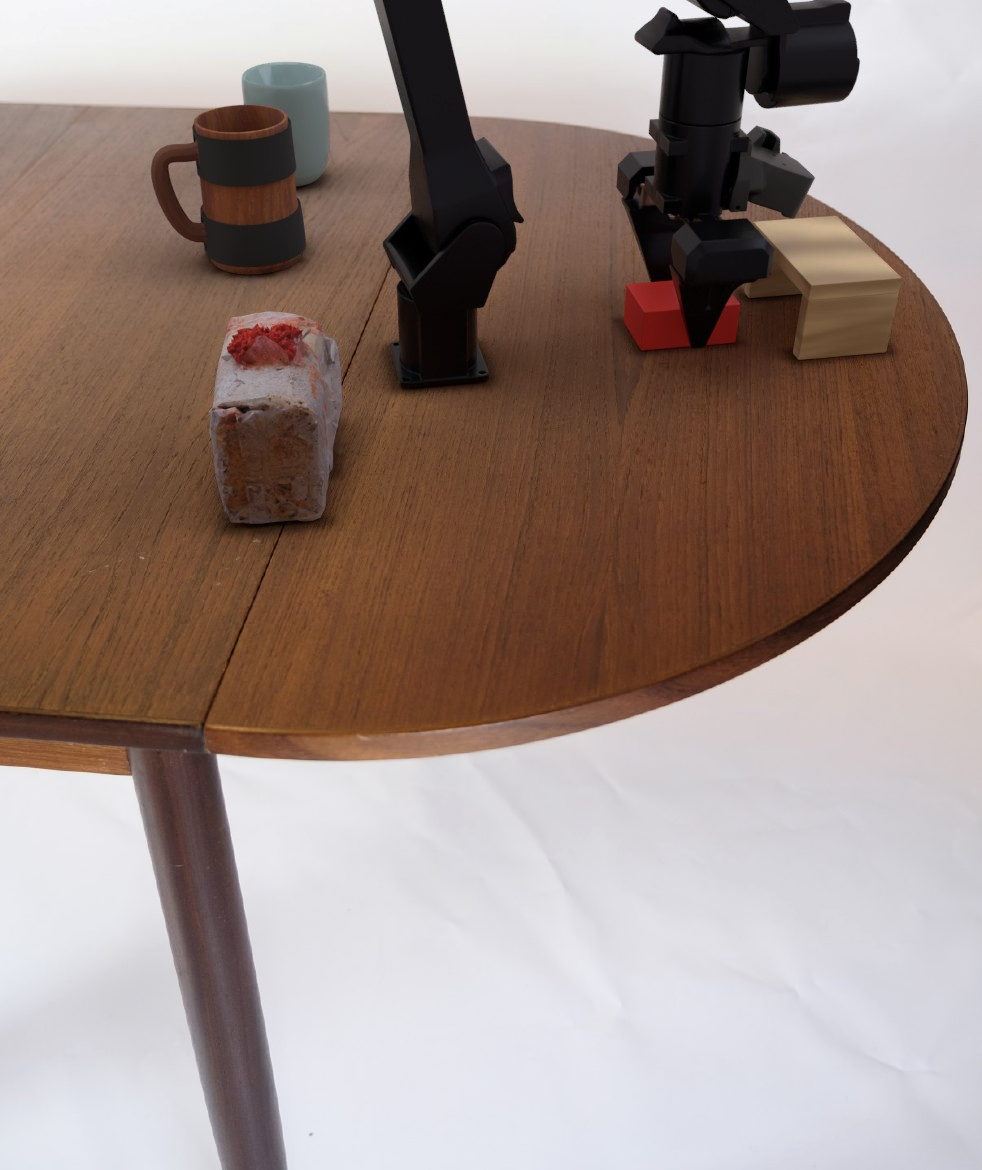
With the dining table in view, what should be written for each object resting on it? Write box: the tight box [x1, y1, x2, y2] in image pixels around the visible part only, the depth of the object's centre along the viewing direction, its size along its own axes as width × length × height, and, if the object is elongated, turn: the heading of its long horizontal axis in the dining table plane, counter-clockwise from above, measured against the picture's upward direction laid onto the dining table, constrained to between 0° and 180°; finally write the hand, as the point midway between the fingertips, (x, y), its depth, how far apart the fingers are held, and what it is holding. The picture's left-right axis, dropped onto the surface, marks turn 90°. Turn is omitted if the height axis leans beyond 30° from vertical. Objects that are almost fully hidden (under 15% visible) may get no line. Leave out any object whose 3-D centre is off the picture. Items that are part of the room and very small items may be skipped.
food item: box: [208, 310, 343, 525], centre depth 80 cm, size 14×8×10 cm, turn 6°
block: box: [623, 280, 741, 351], centre depth 98 cm, size 8×5×3 cm, turn 101°
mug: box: [150, 104, 307, 275], centre depth 106 cm, size 9×12×12 cm
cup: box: [241, 61, 331, 188], centre depth 121 cm, size 8×8×10 cm
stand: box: [743, 215, 903, 361], centre depth 99 cm, size 12×7×6 cm, turn 11°
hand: (679, 320), depth 98 cm, fingers open, 9 cm apart
